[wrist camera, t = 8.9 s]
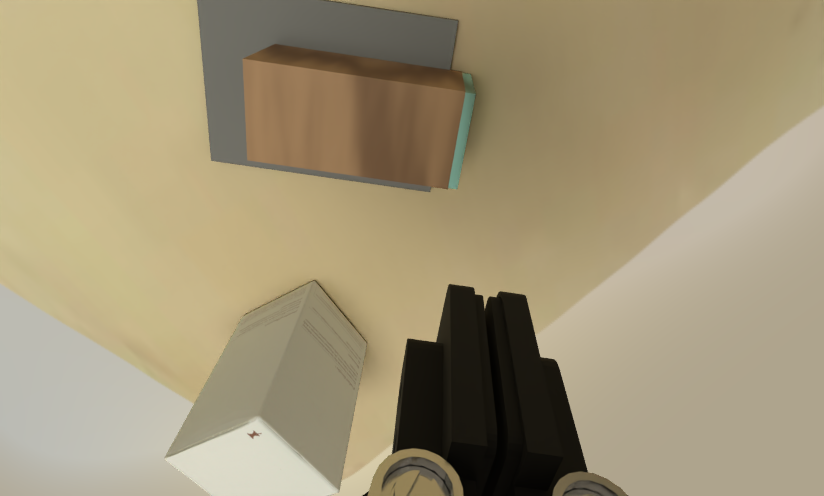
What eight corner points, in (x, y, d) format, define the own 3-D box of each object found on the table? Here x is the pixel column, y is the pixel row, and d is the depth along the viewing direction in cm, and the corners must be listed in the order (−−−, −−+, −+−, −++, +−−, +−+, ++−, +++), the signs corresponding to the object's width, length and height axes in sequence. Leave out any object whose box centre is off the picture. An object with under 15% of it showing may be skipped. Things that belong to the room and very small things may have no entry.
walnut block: (476, 93, 22) (242, 58, 22) (457, 190, 25) (247, 160, 25) (470, 73, 27) (275, 43, 27) (455, 157, 29) (276, 131, 29)
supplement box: (240, 314, 37) (156, 458, 26) (316, 277, 35) (259, 416, 24) (297, 376, 40) (243, 527, 29) (370, 345, 38) (342, 496, 27)
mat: (457, 20, 26) (458, 20, 25) (430, 188, 31) (430, 192, 31) (199, -19, 26) (195, -19, 25) (214, 157, 31) (211, 160, 30)
